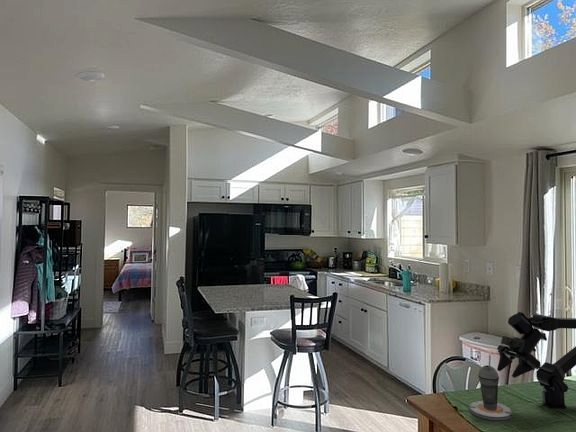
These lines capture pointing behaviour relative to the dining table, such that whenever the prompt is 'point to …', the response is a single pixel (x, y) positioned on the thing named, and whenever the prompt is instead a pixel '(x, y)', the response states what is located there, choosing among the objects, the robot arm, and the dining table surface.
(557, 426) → the dining table surface
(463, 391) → the dining table surface
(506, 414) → the disc
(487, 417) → the base
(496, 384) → the beverage cup
